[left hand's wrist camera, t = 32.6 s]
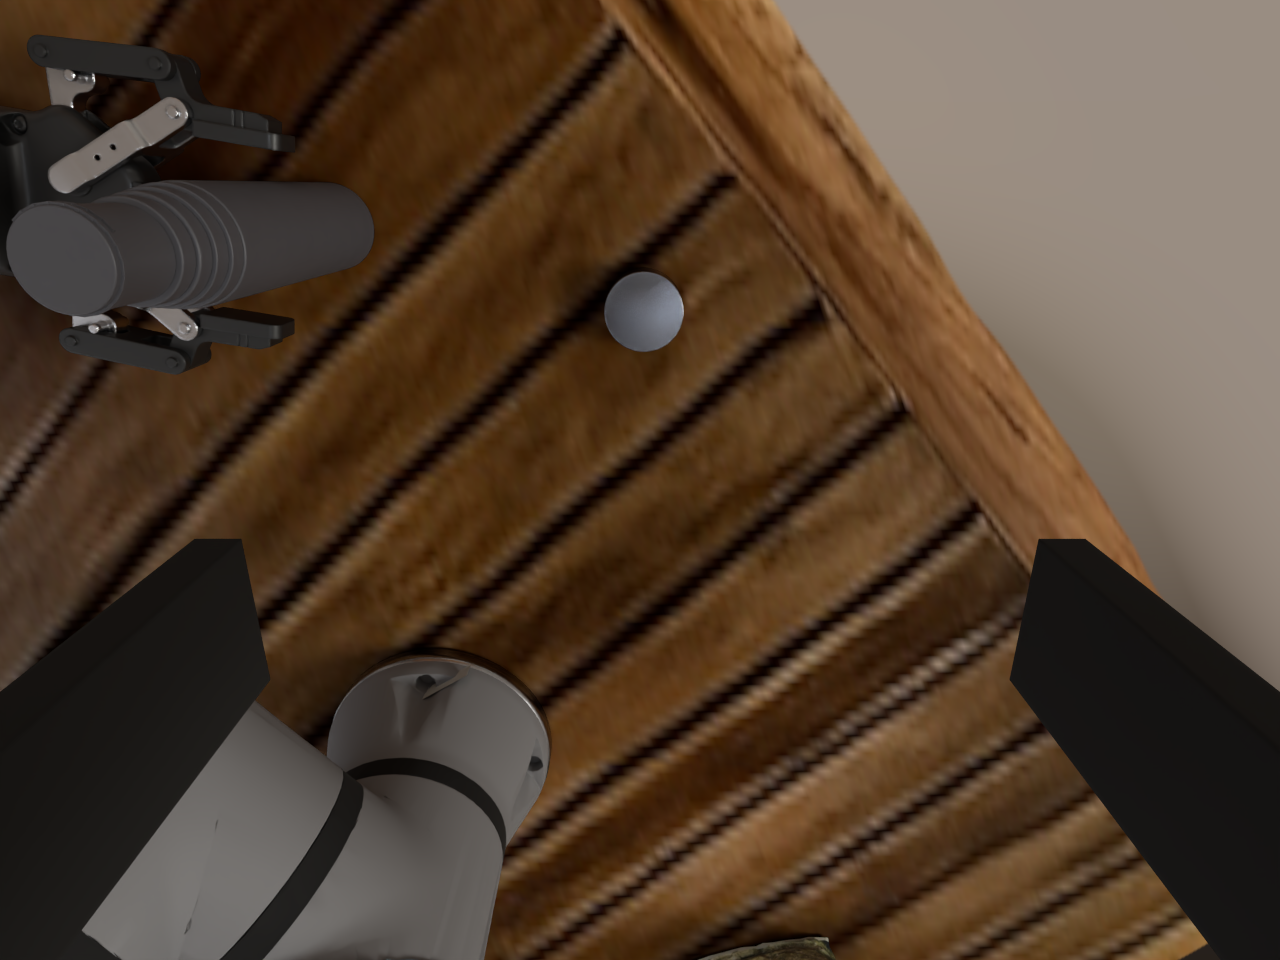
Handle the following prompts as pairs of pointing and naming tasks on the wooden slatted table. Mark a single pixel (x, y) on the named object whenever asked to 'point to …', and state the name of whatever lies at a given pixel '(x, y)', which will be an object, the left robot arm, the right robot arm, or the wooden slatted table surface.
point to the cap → (643, 310)
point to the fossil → (781, 951)
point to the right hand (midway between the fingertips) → (288, 240)
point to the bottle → (185, 243)
